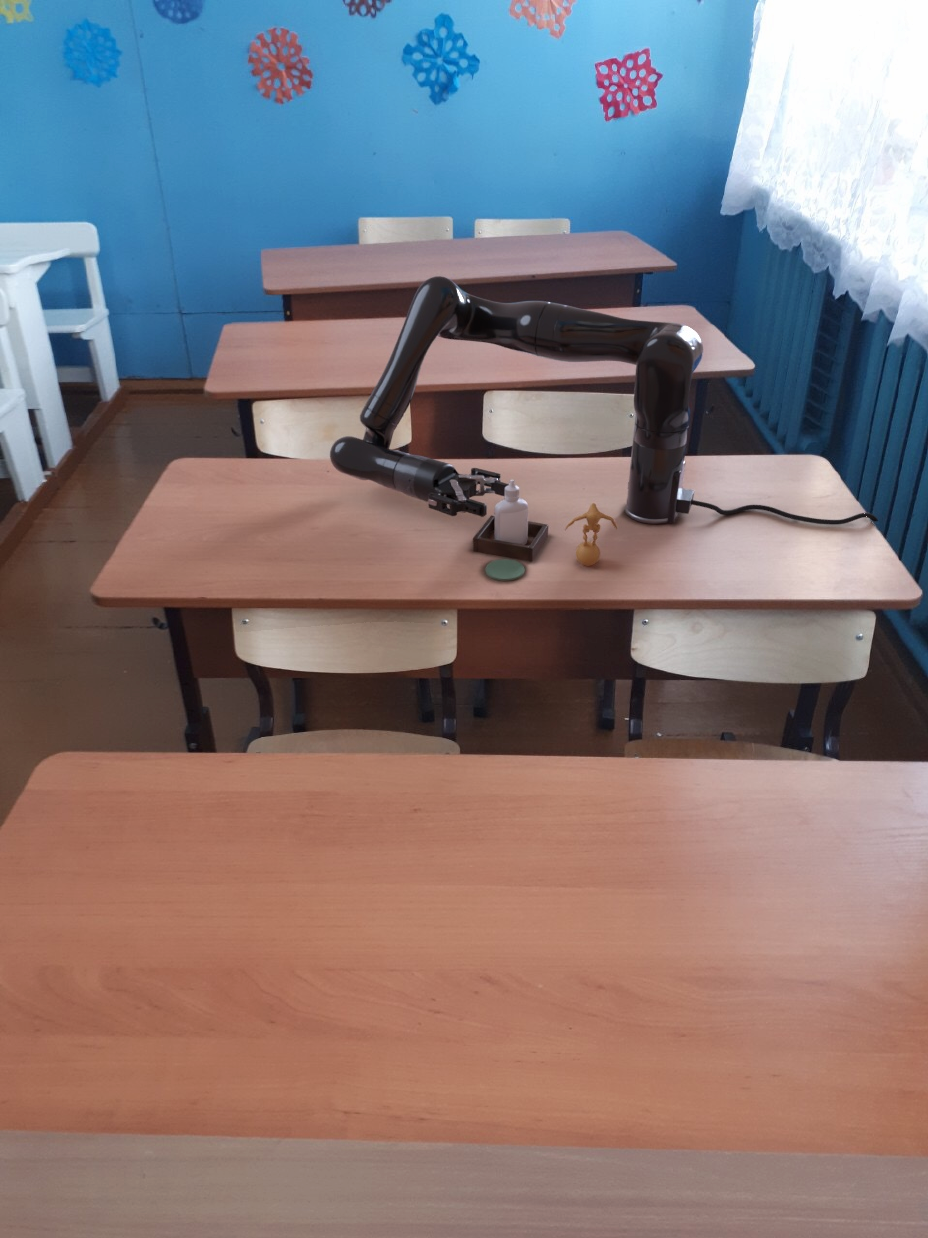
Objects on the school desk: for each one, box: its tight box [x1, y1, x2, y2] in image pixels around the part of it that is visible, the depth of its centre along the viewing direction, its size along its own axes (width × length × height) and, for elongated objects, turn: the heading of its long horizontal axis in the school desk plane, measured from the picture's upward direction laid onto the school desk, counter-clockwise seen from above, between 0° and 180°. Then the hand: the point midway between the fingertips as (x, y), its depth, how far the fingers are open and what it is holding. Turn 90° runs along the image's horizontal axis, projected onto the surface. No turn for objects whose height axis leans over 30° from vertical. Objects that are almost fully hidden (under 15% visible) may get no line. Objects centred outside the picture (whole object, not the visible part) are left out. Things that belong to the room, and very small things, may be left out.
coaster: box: [485, 558, 525, 582], centre depth 143 cm, size 6×6×1 cm
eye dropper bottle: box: [493, 479, 529, 545], centre depth 148 cm, size 4×6×12 cm
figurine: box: [564, 502, 618, 567], centre depth 141 cm, size 8×6×12 cm
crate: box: [472, 515, 549, 562], centre depth 150 cm, size 11×9×2 cm
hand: (500, 501), depth 148 cm, fingers open, 8 cm apart
